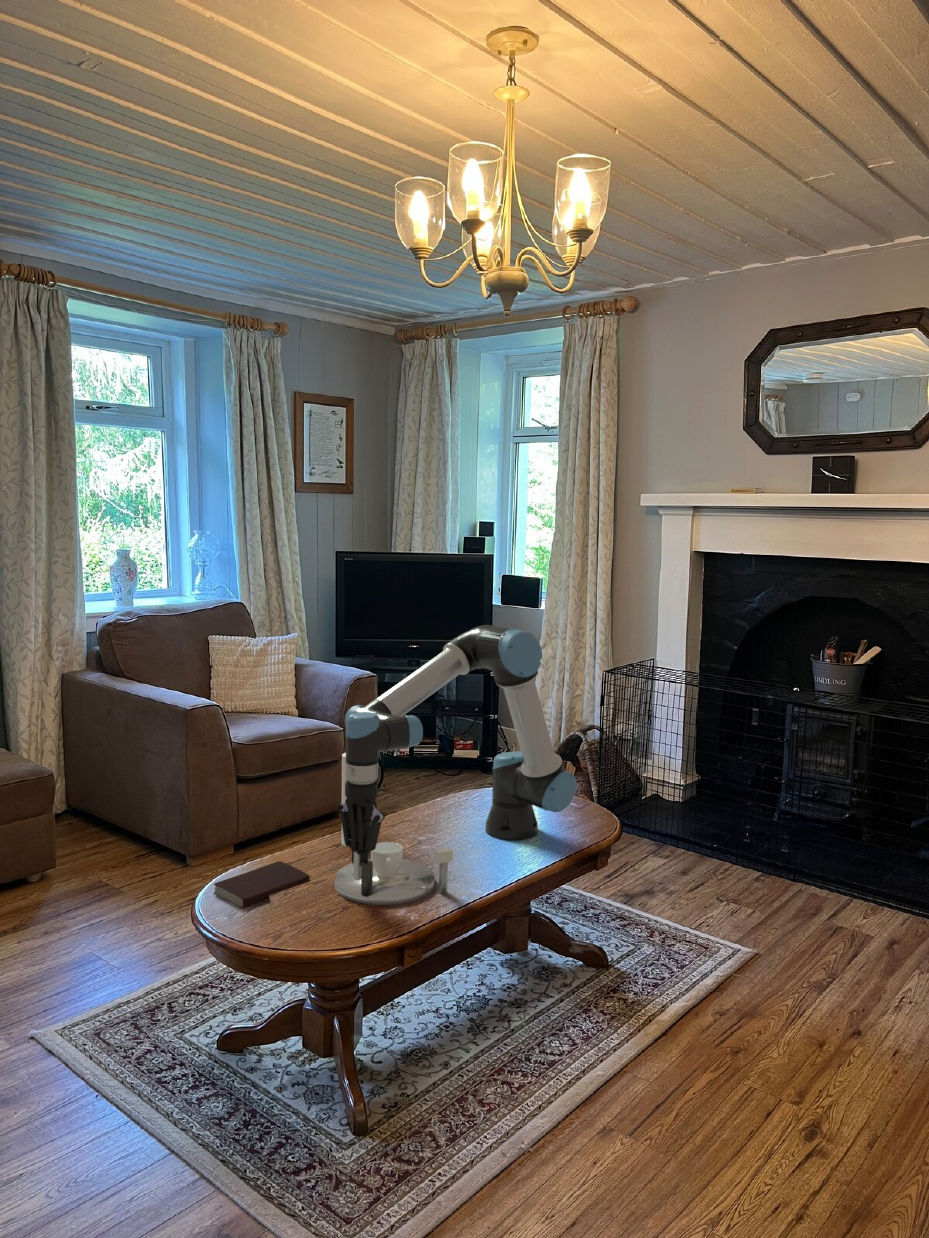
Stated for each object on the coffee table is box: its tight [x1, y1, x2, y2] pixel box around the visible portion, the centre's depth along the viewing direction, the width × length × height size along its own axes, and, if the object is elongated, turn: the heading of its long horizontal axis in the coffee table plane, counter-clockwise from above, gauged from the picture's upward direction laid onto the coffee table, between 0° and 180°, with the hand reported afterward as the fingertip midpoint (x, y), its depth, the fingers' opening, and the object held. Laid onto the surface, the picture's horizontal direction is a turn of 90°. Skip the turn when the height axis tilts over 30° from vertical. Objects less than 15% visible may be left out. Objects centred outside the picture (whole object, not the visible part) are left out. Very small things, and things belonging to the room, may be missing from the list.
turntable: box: [334, 858, 435, 906], centre depth 216 cm, size 24×24×10 cm
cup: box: [370, 841, 404, 878], centre depth 216 cm, size 8×10×7 cm
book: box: [213, 861, 311, 909], centre depth 215 cm, size 12×19×3 cm, turn 138°
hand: (359, 877), depth 209 cm, fingers closed
